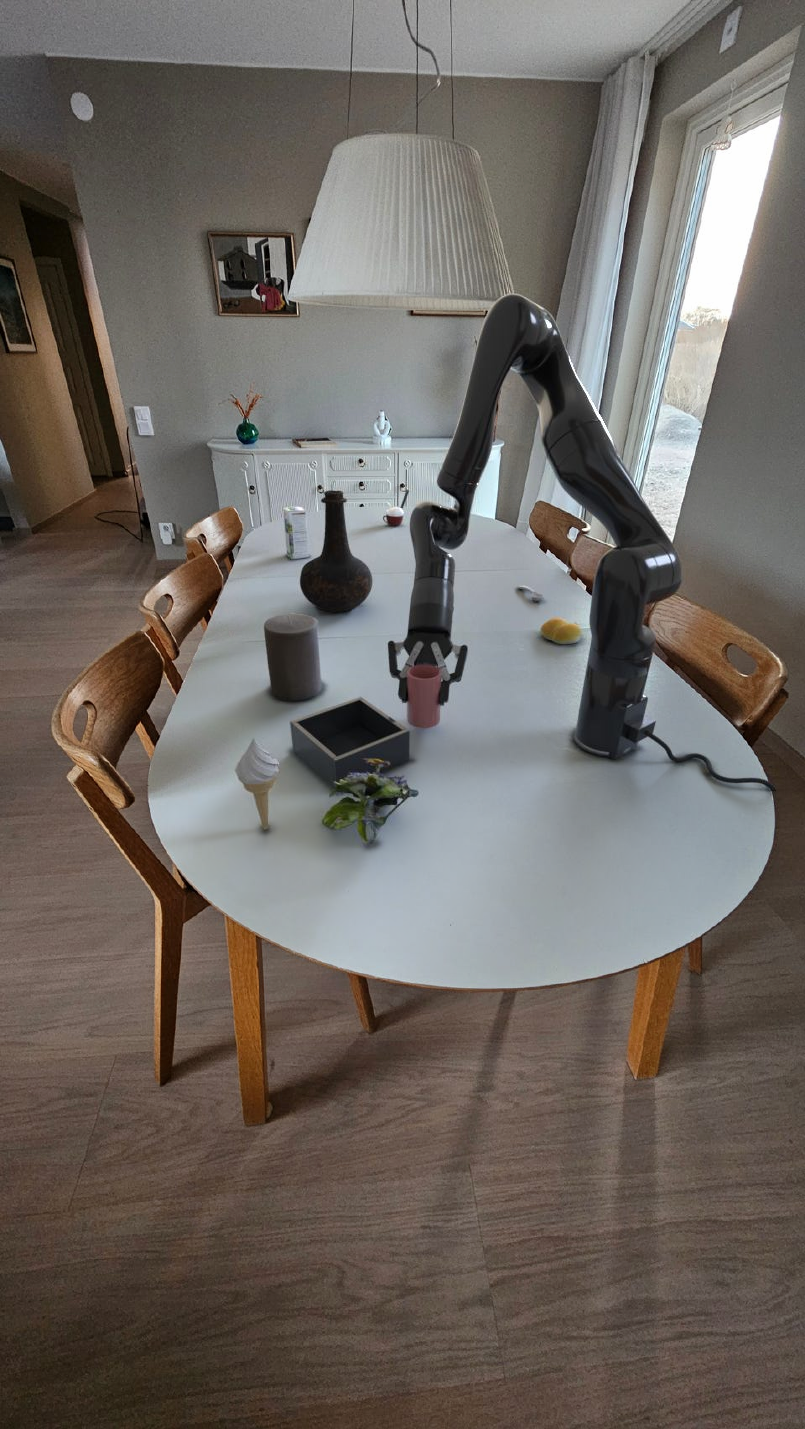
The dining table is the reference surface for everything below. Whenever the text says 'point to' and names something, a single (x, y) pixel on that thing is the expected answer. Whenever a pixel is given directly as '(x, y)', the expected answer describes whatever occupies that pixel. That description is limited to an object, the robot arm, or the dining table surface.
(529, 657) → the dining table surface
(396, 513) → the cocoa
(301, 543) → the syrup box
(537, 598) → the spoon
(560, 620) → the bread roll
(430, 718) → the cup
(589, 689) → the robot arm
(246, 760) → the ice cream cone
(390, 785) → the passion flower
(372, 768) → the dark grey open box
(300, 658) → the pillar candle
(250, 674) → the dining table surface
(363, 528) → the dining table surface
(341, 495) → the glass bottle
